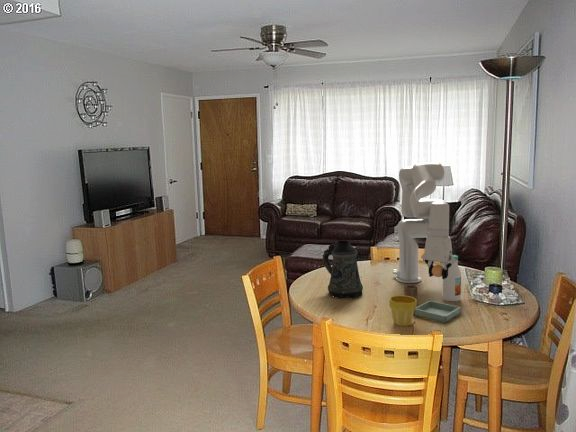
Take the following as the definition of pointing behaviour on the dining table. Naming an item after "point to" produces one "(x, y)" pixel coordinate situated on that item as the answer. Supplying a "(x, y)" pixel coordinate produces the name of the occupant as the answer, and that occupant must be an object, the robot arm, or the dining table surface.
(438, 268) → the ball
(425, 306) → the tray
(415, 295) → the wooden box
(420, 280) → the robot arm
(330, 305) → the dining table surface
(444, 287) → the milk bottle
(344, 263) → the beer stein
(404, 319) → the plant pot
